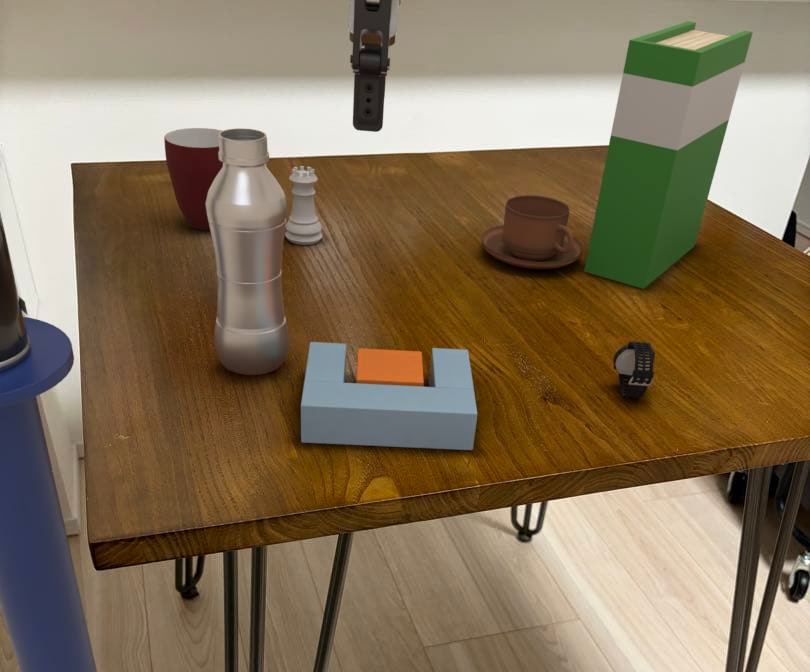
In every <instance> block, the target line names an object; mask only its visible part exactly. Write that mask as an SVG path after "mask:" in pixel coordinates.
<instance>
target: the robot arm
mask: <svg viewBox="0 0 810 672" xmlns="http://www.w3.org/2000/svg"><path fill="white" fill-rule="evenodd" d="M402 1H403V0H348V19H347V35H348V36H347V37H348V39H349V41H350V42H351V43H352V54H350V57H349V58H350V59H349V62H350V67H351V69H352V73H353V74H354V76H353V77H354V78H353V83H354V84H353V103H352V126H353V128H354V129H355V130H357V131H361V132H373V133H377V132H380V131H381V130H383V124H384V110H385V109H384V108H385V96H386V94H385V93H386V81H387V79H386V78H387V76H388V71H390V68H391V67H390V65H391V58H390V57H389V50H390V47H391V46H393V45H395V44H396V41H397V34H398V33H397V31H398V16H399V6H400V5H401V4H402ZM23 313H24V314H26V316H29V315H28V310H27V306H26V301H25V300H24V299H23V298H21V297H20V296H19V291H18V286H17V281H16V278H15V273H14V268H13V264H12V259H11V255H10V250H9V245H8V241H7V236H6V232H5V227H4V223H3V217H2V213H1V212H0V373H1V372H4V371H7V370H9V369H11V368H14V367H16V366H17V365H19V364H20V363H22V362H23V361H24V360H25V359H26V358H27V357H28V356H29V354H30V352H31V345H30V341H29V337H28V335H27V330H26V326H25V323H24V319H23V317H24V314H23Z"/></svg>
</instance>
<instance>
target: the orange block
mask: <svg viewBox="0 0 810 672" xmlns="http://www.w3.org/2000/svg"><path fill="white" fill-rule="evenodd" d="M356 365H357V366H356V383H359V384H380V385H400V386H420V387H425V385H424V384H425V381H424V365H423V352H422V351H419V350H418V351H417V350H401V349H400V350H398V349H397V350H396V349H381V348H380V349H377V348H361V347H360V348H358V349H357V363H356Z"/></svg>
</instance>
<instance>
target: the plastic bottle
mask: <svg viewBox="0 0 810 672" xmlns="http://www.w3.org/2000/svg"><path fill="white" fill-rule="evenodd" d="M218 138H219V150H220V151H219V152H218V154H219V160H220V161H222V162H223V167H222V169H221V170H220V172H219V173H218V175H217V176H216V177H215V179H214V181H213V183H212V185H211V187H210V189H209V191H208V195H207V199H206V203H205V204H206V211H207V217H208V222H209V227H210V230H209V231H210V236H211V240H212V245H213V250H214V251H213V253H214V261H215V268H216V277H217V279H216V280H217V300H216V301H217V303H216V306H217V307H216V318H215V325H214V333H213V344H214V348H215V353H216V356H217V359H218V360H219V362H220V363H221V364H222V366H224V368H225V369H226V370H228V371H229V372H232V373H235V374H239V375H246V376H257V375H258V376H259V375H264V374H268V373H272V372H275V371H276V370H277V369H279V368H280V367H281V366H282V365H283V363H284V362H285V361H286V359H287V357H288V354H289V347H290V332H289V327H288V323H287V318H286V316H285V304H284V296H283V284H282V272H283V271H282V266H283V247H284V241H285V240H284V239H285V233H286V227H285V226H286V223H287V216H288V201H287V198H286V194H285V191H284V190H283V188H282V187H281V185H280V183H279V182H278V180H277V179H276V178H275V176H274V175H273V173H272V172H271V171H270V170H269V168H268V167H267V163H268V162H269V161H270V152H269V149H268V137H267V134H266V133H265V132H264V131H261V130H259V129H254V128H242V127H241V128H240V127H239V128H229V129H224V130H221V132H220V133H219V137H218Z"/></svg>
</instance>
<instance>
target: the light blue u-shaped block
mask: <svg viewBox="0 0 810 672" xmlns="http://www.w3.org/2000/svg"><path fill="white" fill-rule="evenodd" d="M307 353H308V355H307V360H306V367H305V374H304V381H303V386H302V387H303V388H302V396H301V402H300V442H301V443H302V444H303V443H304V444H305V443H306V444H324V445H325V444H326V445H347V446H367V447H368V446H373V447H391V448H410V449H411V448H414V449H434V450H457V451H473V450H474V444H475V436H476V429H477V421H478V407H477V402H476V395H475V389H474V388H475V387H474V381H473V374H472V367H471V362H470V354H469V349H462V348H461V349H458V348H442V347H441V348H439V347H432V348H431V359H430V368H429V379H428V386H423V387H420V386H400V385H380V384H359V383H355V382H346V376H347V375H346V374H347V373H346V372H347V344H346V343H341V342H338V343H337V342H323V341H319V342H318V341H310V342H309V348H308V352H307Z"/></svg>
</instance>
